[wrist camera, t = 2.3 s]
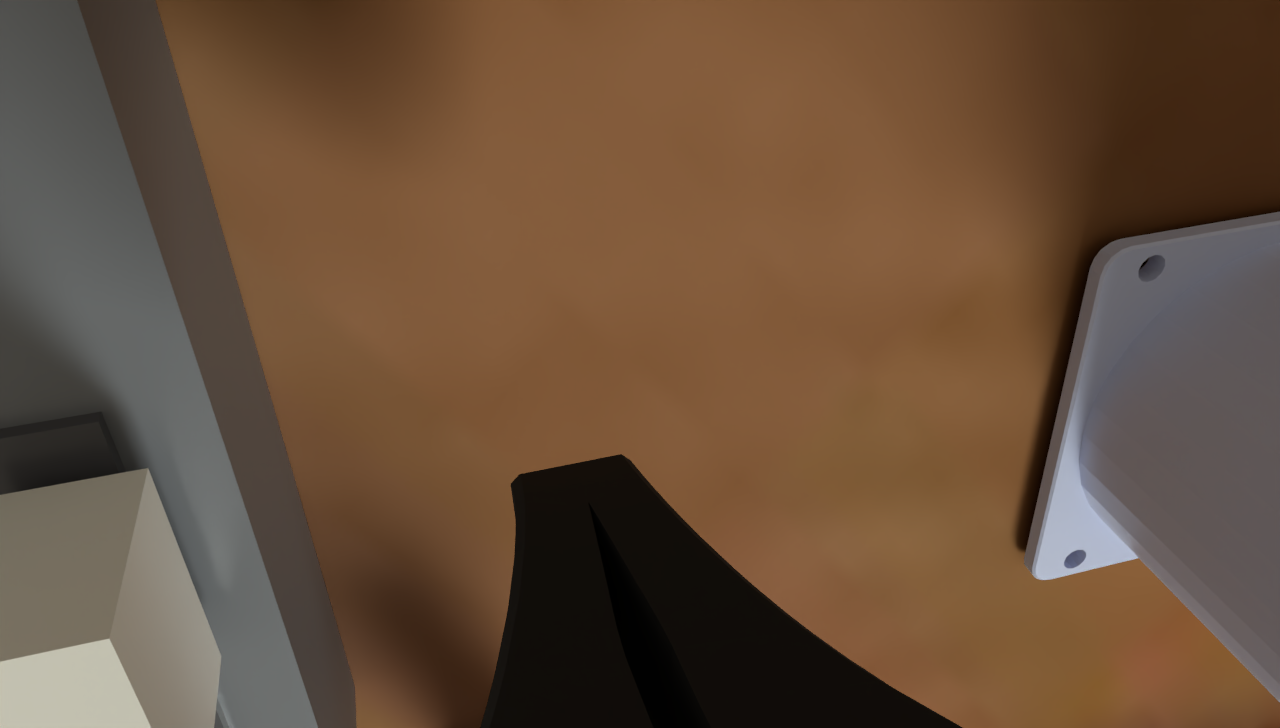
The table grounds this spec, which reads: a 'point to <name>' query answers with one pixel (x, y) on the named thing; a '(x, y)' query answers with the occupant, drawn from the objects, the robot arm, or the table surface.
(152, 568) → the block
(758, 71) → the table surface
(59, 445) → the block
